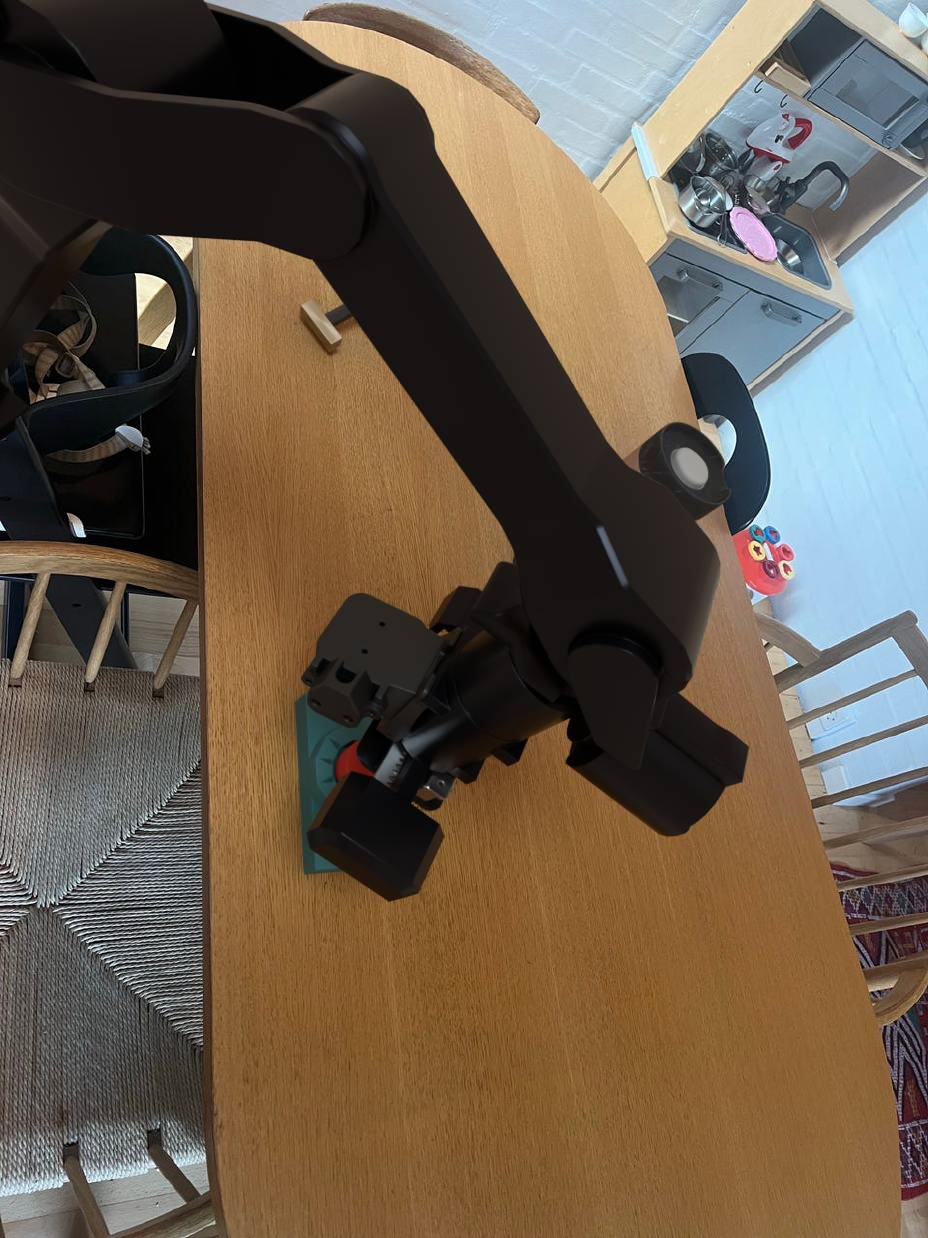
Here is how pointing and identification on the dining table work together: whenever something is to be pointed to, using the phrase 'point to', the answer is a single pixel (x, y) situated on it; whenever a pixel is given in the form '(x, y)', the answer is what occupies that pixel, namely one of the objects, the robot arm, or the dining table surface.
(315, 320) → the lever
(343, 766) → the button
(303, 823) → the button block
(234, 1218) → the dining table surface
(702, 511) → the travel mug
